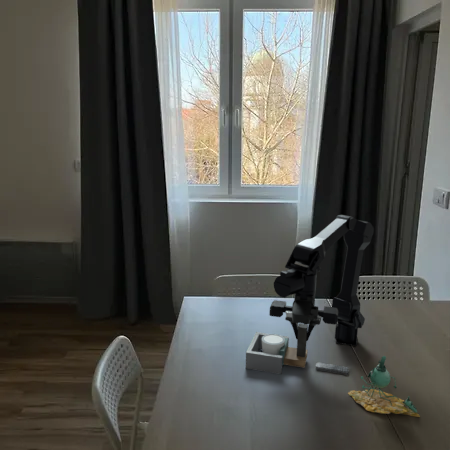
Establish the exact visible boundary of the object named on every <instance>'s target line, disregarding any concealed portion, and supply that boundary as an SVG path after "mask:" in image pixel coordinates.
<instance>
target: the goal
mask: <svg viewBox="0 0 450 450" xmlns="http://www.w3.org/2000/svg"><path fill="white" fill-rule="evenodd" d="M267 334H268V333H266V332H259V331H256V332H255V333H254V335H253V338H252V340H251V342H250V343H249V346H247V347H248V348H247V350H246V351H245V369H248V370H254V371H260V372H266V373H271V374H272V373H273V374H277V375H282V372H283V365H282V359H283V356H280V355H273V354H267V353H262V352H259V350H261V351H262V339H261V338H262V337H263V336H264V335H267ZM281 336H282V337H284V338H287V339H288V346H289V343H290V337H289V336H288V335H287V336H285V335H281Z"/></svg>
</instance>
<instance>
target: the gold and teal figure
mask: <svg viewBox="0 0 450 450" xmlns="http://www.w3.org/2000/svg"><path fill="white" fill-rule="evenodd" d="M386 360H387V357H386V355H383V356H381V358H380V360H378V364H377V365H376V367H373V368H372V370H370V372H369V373H368V374H367V378H369V380H370V383H368V382H367V381H366V380H365V379H364V376H360V379H361V380H363V381H364V382H365V384H367V386H369V385H370V387H367V386H365V384H362V386H361V388H362V389H363V390H362V391H361V390H349V391H348V392H347V394H348V396H350V397H352V399H353V400H354V402H355V403H357V404H359V405H360V406H361V407H363V408H364V410H366V411H368V412H371V413H378V414H382V415H383V414H387V415H388V414H391V413H392V414H398V415H399V414H402V415H404V416H405V415H407V416H410V417H414V418H415V417H416V418H420V417H421V415H420V414H418V410H417V407H416V406H415V404H413V403H414V402H413V401H411V400H410V396H409V395H407V398H406V399H405V400H404V399H402V398H400V397H397V395H393V394H392V393H388V392H385V391H383V390H382V389H384V388H387V387H388V386H389V385H390V383H391V379H394V380H396V377H394V376H391V373H390V372H389V371H388V370H387V368H386V365H385V362H386ZM377 388H378V390H377ZM393 388H394V389H397V384H396V381H394V386H393Z"/></svg>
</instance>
